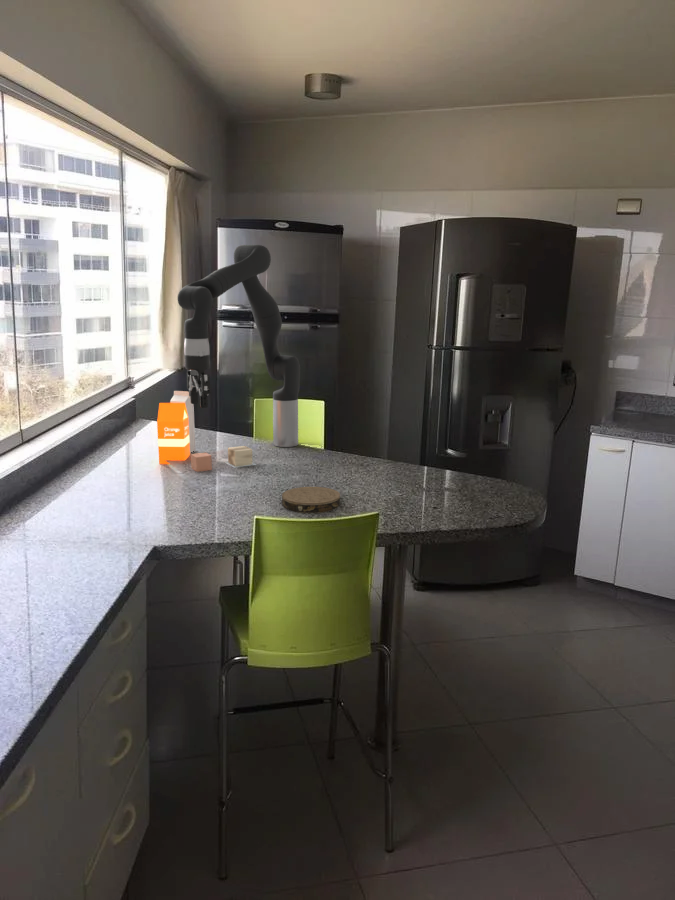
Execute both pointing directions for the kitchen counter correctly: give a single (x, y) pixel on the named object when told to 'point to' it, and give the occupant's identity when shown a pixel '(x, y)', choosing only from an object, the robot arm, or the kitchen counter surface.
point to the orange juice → (173, 432)
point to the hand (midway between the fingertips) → (199, 405)
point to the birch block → (240, 456)
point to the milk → (185, 398)
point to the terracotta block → (201, 462)
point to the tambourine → (311, 499)
